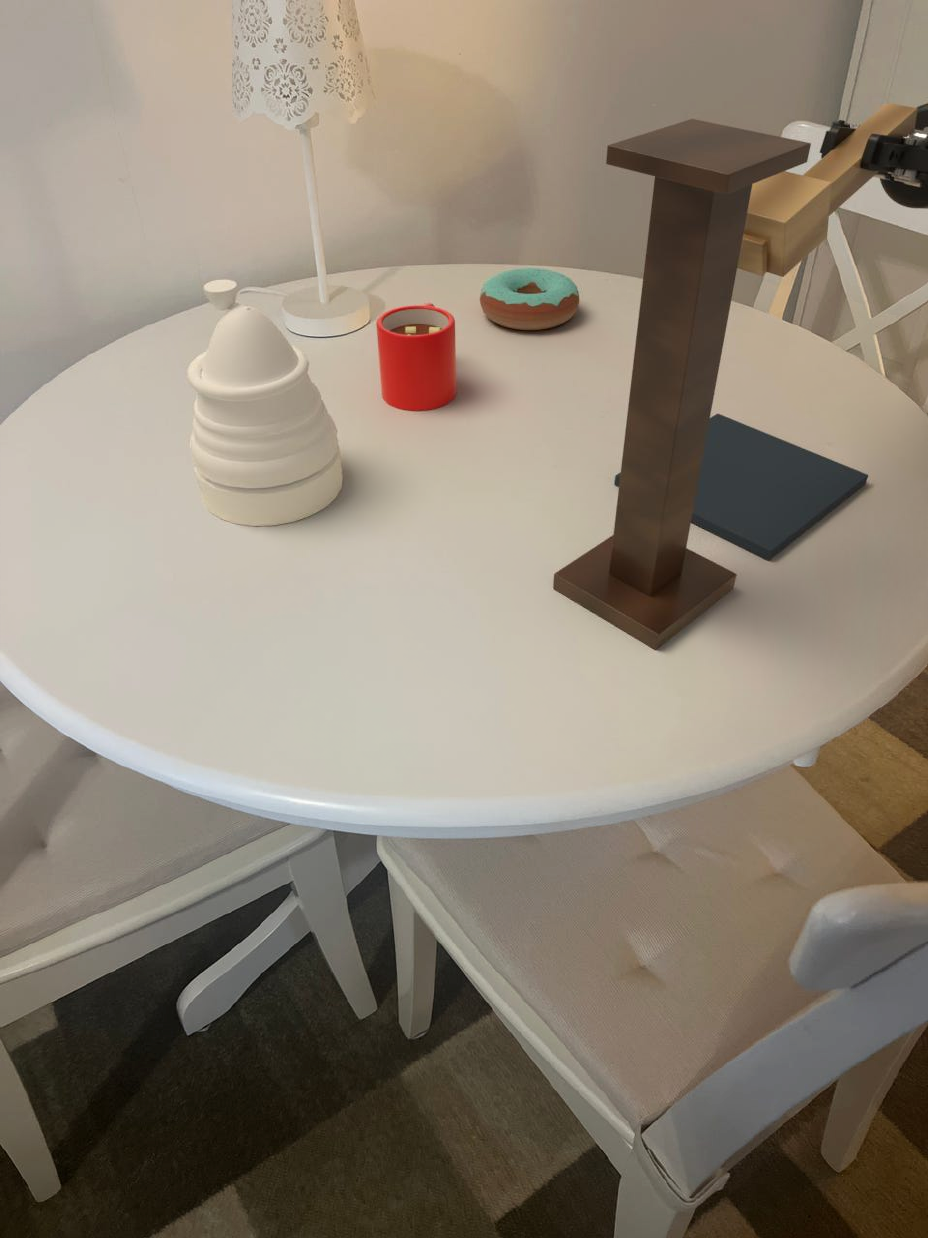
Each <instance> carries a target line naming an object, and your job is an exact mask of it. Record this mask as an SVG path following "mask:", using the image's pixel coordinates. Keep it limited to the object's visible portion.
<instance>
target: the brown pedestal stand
mask: <svg viewBox="0 0 928 1238" xmlns="http://www.w3.org/2000/svg"><path fill="white" fill-rule="evenodd" d="M811 146H812V143H811V142H806V141H803V140H798V139H793V138H786V137H784V136H783V137H782V136H779V135H778V136H777V135H773V134H767V133H763V132H760V131H759V132H758V131H753V130H748V129H744V128H739V127H734V126H728V125H724V124H720V123H714V122H710V121H704V120H700V119H696V118H690V119H687V120H683V121H680V122H677V123H674V124H671V125H667V126H665V127H661V128H659V129H655V130H652V131H648V132H646V133H643V134H639V135H636V136H633V137H630V138H627V139H623V140H620V141H617V142H614V143H610V144H607V145H606V147H607V148H606V160H605V164H606V165H608V166H612V167H616V168H620V169H624V170H628V171H632V172H634V173H635V172H636V173H640V174H642V175H643V174H644V175H648V176H651V177H654V180H653V189H652V190H653V191H652V198H651V205H650V206H651V207H650V216H649V224H648V232H647V233H648V234H647V241H646V250H645V251H646V252H645V259H644V268H643V275H642V284H641V292H640V293H641V294H640V303H639V311H638V318H637V319H638V320H637V328H636V337H635V345H634V354H633V361H632V362H633V363H632V371H631V380H630V387H629V397H628V404H627V414H626V416H627V417H626V423H625V432H624V439H623V449H622V458H621V465H620V466H621V467H620V472H621V474H620V483H619V487H618V492H617V494H618V495H617V501H616V510H615V519H614V527H613V534H612V535H611V536H609V537H607V538H606V539H605V540H602V542H600V543H599V544H597V545H596V546H594V547H592V548H591V549H589V550H588V551H586V552H585V553H584V554H581V556H578V557H577V558H576V559H574V560H572V561H571V562H569V563H568V564H567V565H565V566H564V567H562V568H561V569H559V570H558V571H556V572H554V574H553V584H552V585H553V586H552V588H553V590H555V591H557V592H558V593H559V594H562V595H563V596H565V597H566V598H568V599H570V600H572V601H573V602H574V603H577V604H578V605H580V606H581V607H583V608H584V609H586V610H588V611H590V612H591V613H593V614H595V615H597V616H598V617H600V618H601V619H604V620H605V621H607V622H608V623H610V624H612V625H613V626H614V627H617V628H618V629H619V630H621V631H623V632H624V633H626V634H628V635H630V636H631V637H633V638H635V639H636V640H638V641H640V642H641V643H643V644H645V645H646V646H648V647H649V648H651V649H653V650H655V651H656V650H658V649H659V648H660V647H661V646H663V645H664V644H665V643H667V642H668V641H669V640H670V639H672V638H673V637H674V636H675V635H676V634H678V633H679V632H680V631H681V630H683V629H684V628H685V627H687V626H688V625H689V624H690V623H692V622H693V621H694V620H696V619H697V618H698V617H699V616H701V615H702V614H703V613H704V612H706V611H707V610H708V609H710V608H711V607H712V606H713V605H714V604H716V603H717V602H718V601H720V600H721V599H722V598H723V597H724V596H726V595H727V594H729V592H731V591H733V589H734V587H735V583H736V579H737V573H736V572H734V571H732V570H730V569H729V568H726V567H724V566H722V565H720V564H719V563H716V562H715V561H713V560H711V559H708V558H707V557H706V556H703V555H701V554H699V553H697V552H695V551H693V550H691V549H689V548H687V545H688V540H689V536H690V530H691V524H692V523H691V519H692V514H693V508H694V503H695V497H696V492H697V486H698V481H699V475H700V470H701V464H702V459H703V453H704V448H705V442H706V437H707V431H708V426H709V420H710V418H711V415H712V414H711V413H712V409H713V403H714V399H715V392H716V386H717V381H718V376H719V370H720V365H721V359H722V354H723V347H724V342H725V337H726V331H727V326H728V321H729V314H730V311H731V310H730V309H731V305H732V299H733V293H734V288H735V282H736V276H737V271H738V268H737V266H738V261H739V255H740V250H741V244H742V239H743V233H744V228H745V222H746V217H747V211H748V206H749V200H750V195H751V189H752V184H753V183H756V182H759V181H761V180H764V179H766V178H769V177H771V176H774V175H776V174H779V173H781V172H784V171H786V172H787V171H789V170H792V169H794V168H796V167H798V166H799V167H800V166H802V165H804V164H806V163H808V160H809V155H810V151H811Z"/></svg>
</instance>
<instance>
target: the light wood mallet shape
mask: <svg viewBox="0 0 928 1238" xmlns="http://www.w3.org/2000/svg"><path fill="white" fill-rule="evenodd" d="M917 110H918V108H916V107H913V106H907V105H903V104H896V103H890V102H886V103H884V105H882V106H881V107H880V108H878V110H876V111H875V112H874V113H873V114H872V115H871V116H870V117H868V118H867V119H866V120H865V121H864V122H862V124H859V125H860V126H859V127H858V128H857V129H856V130H855V131H854V132H853V133H851V134H850V135H849V136H848V137H847V138H846V139H844V140H843V141H842V142H841V143H840V144H839V145H837V146H836V147H835V148H834V149H833V150H831V151H830V152H829V153H828V154H827V155H826V156H824V157H823V158H821V159H820V160H818V161H817V162H816V163H814V165H813V166H811V168H809V169H808V170H807V171H806V172H804V173H803V174H798V173H794V172H790V171H787V170H786V171H784V172H781V173H779V174H776V175H774V176H771V177H769V178H766V179H764V180H761V181H759V182H756V183H753V184H752V189H751V195H750V200H749V206H748V211H747V217H746V222H745V228H744V233H743V239H742V244H741V250H740V255H739V261H738V266H737V270H738V269H739V270H741V271H744V272H748V273H751V274H753V275H756V276H757V275H758V276H761V277H763V276H764V275H765V274H766V273H769V274H771V275H775V276H778V277H781V278H784V277H786V275H787V274H788V273H790V272H791V271H792V270H793V269H794V268H795V267H796V266H797V265H798V264H799V263H801V262H802V261H803V260H804V259H805V258H806V257H808V255H809V254H810V253H812V252H813V251H814V250H815V249H816V248H817V247H818V246H820V245H821V244H822V243H823V242H824V241H825V240H826V239H827V238H828V231H829V220H830V219H829V218H830V216H831V215H833V213H835V212H836V211H837V210H838V209H839V208H840V207H841V206H842V205H844V203H846V202H847V201H848V200H850V198H851V197H852V196H853V195H854V194H855V193H857V192H858V191H859V190H860V189H862V187H864V185H866V184H867V183H868V182H869V181H870V180H871V179H872V178H874V177H873V176H874V175H876V174H877V173H878V172H879V171H870V170H865V169H861V168H860V163H861V160H862V155H863V152H864V149H865V146H866V144H867V141H868V138H869V137H870V135H871V134H881V135H888V136H895V137H901V136H906V135H907V134H908V135H910V133H911V131H912V130H914V129H915V123H916V116H917Z"/></svg>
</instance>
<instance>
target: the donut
mask: <svg viewBox="0 0 928 1238" xmlns="http://www.w3.org/2000/svg"><path fill="white" fill-rule="evenodd" d="M482 286H483V287H482V288H481V290H480V294H479V295H480V296H479V303H480V308H481V309H482V313H483V314H484V315H485V316H486V318H488V319H489V320H490V321H492V322H494V323H495V324H497V325H500V326H501V327H505V328H507V329H508V328H509V329H513V330H517V331H519V330H520V331H540V330H547V329H548V330H549V329H551V328H554V327H557V326H561V325H562V324H564V323H566V322H568V321H569V320H570V319H571V318H572V317H573V316H574V315H575V314H576V311H577V309H578V307H579V305H580V293H579V290H578V286H577V284H576V283H575V282H574V281H573V280H572V279H571V278H570V277H568V276H567V275H564V274H563V273H560V272H557V271H554V270H550V269H544V268H535V267H526V268H525V267H524V268H515V269H508V270H505V271H501V272H499V273H497V274H495V275H493V276H492V277H489V279H487V281H485V282H484V283H483V285H482Z"/></svg>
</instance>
